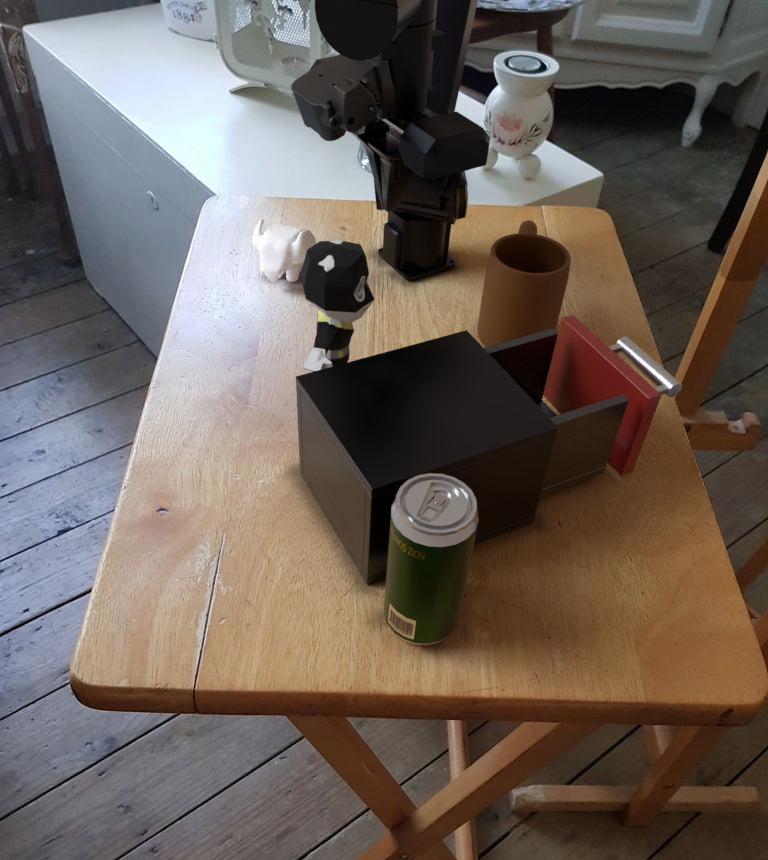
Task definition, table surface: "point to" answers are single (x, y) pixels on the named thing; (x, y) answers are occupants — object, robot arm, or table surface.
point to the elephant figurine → (282, 250)
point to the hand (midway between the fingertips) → (388, 209)
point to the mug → (522, 286)
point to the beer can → (429, 557)
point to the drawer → (587, 397)
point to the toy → (335, 298)
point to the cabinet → (419, 440)
